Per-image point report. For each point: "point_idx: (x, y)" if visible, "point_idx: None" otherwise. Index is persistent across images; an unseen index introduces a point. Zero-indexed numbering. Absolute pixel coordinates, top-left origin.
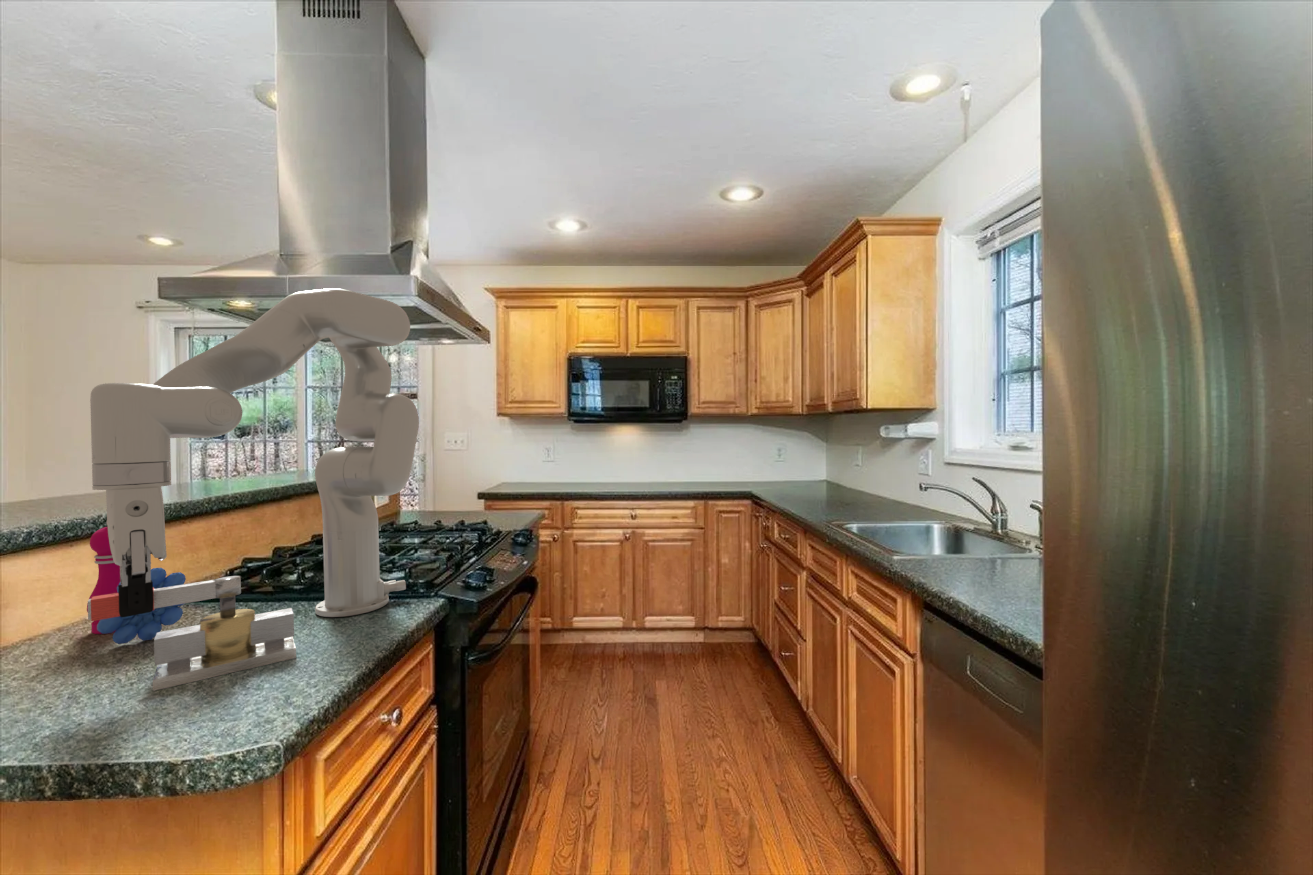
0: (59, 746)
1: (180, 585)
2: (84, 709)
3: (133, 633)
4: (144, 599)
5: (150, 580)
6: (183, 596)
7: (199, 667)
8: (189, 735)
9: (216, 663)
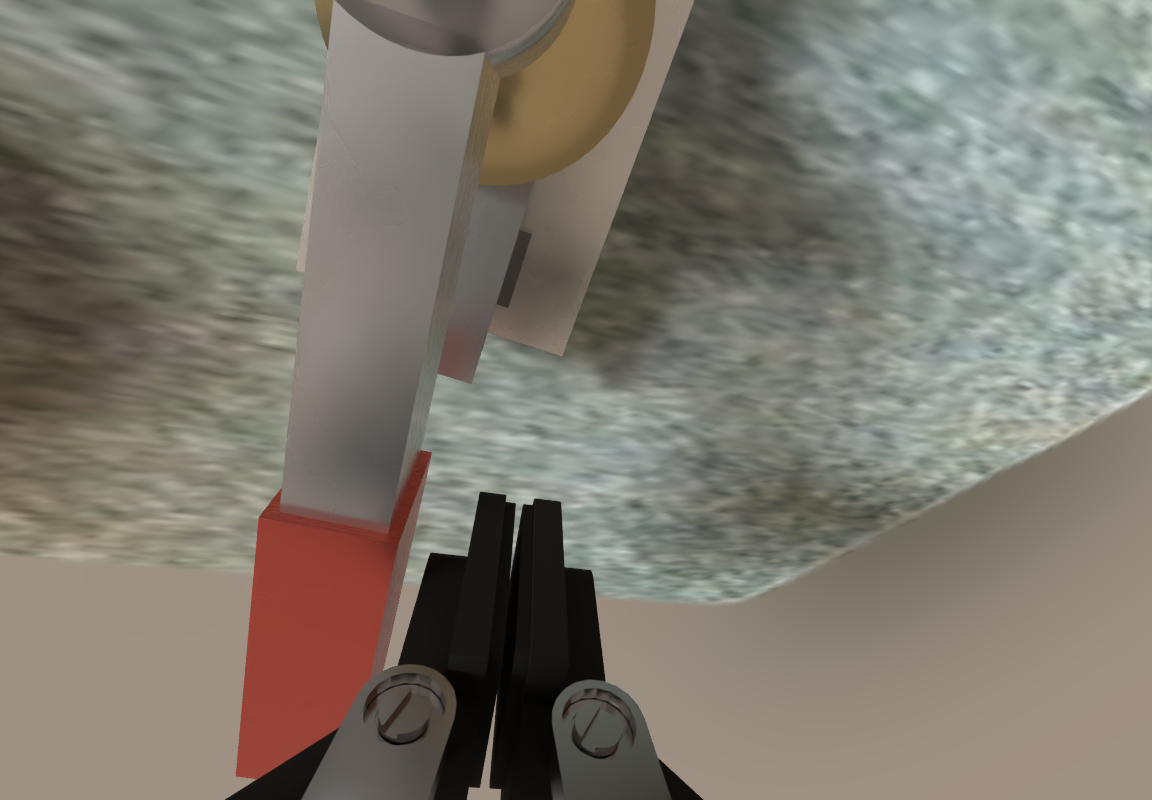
0: (736, 548)
1: (327, 345)
2: (530, 483)
3: None
4: (596, 606)
5: (637, 713)
6: (442, 320)
7: (587, 213)
8: (1006, 375)
9: (602, 150)
